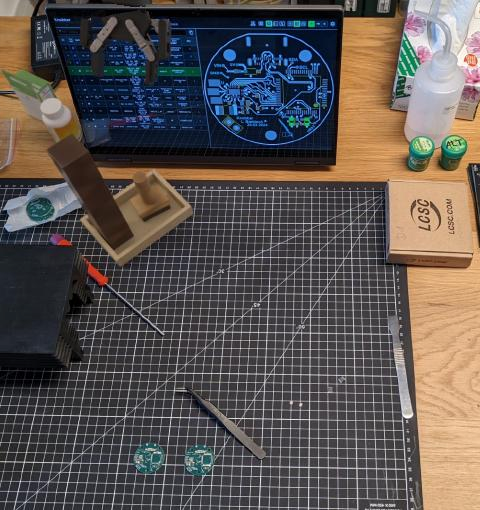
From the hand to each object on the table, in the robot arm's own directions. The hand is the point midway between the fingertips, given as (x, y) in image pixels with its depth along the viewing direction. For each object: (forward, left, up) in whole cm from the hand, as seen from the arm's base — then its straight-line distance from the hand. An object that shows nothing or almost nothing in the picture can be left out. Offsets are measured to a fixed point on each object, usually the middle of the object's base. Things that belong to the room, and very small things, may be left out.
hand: (124, 80), depth 101 cm
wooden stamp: (-7, -8, -23) cm, 25 cm away
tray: (-10, -8, -24) cm, 27 cm away
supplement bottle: (-9, +18, -24) cm, 31 cm away
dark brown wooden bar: (-15, -8, -23) cm, 29 cm away
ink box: (-9, +26, -24) cm, 37 cm away
